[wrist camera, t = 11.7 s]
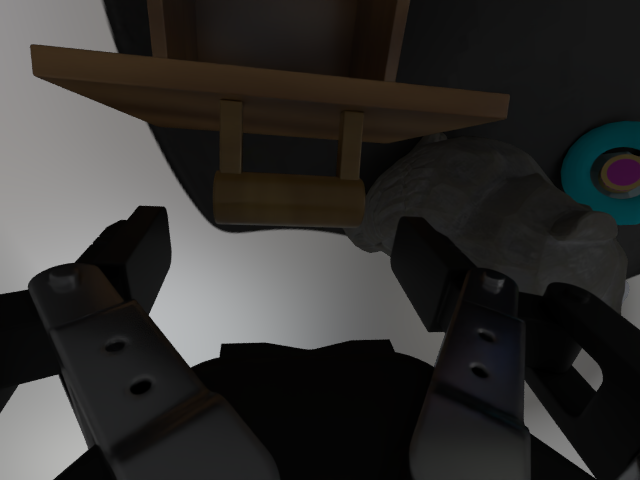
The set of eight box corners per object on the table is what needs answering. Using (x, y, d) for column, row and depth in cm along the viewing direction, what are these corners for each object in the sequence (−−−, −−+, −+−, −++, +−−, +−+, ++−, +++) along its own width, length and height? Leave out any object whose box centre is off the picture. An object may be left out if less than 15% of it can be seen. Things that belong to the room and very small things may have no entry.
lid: (27, 42, 9) (46, 225, 10) (511, 94, 11) (489, 236, 12) (156, 112, 20) (159, 195, 21) (388, 130, 22) (381, 204, 23)
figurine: (500, 200, 39) (690, 317, 22) (380, 277, 42) (463, 436, 24) (451, 90, 33) (666, 131, 15) (313, 189, 35) (361, 321, 18)
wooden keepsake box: (182, -59, 25) (132, -127, 16) (369, -29, 27) (423, -72, 18) (192, 98, 30) (159, 118, 20) (350, 112, 32) (386, 135, 23)
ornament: (587, 242, 39) (700, 201, 35) (594, 241, 35) (721, 194, 31) (540, 162, 42) (639, 114, 37) (541, 153, 38) (652, 98, 34)
